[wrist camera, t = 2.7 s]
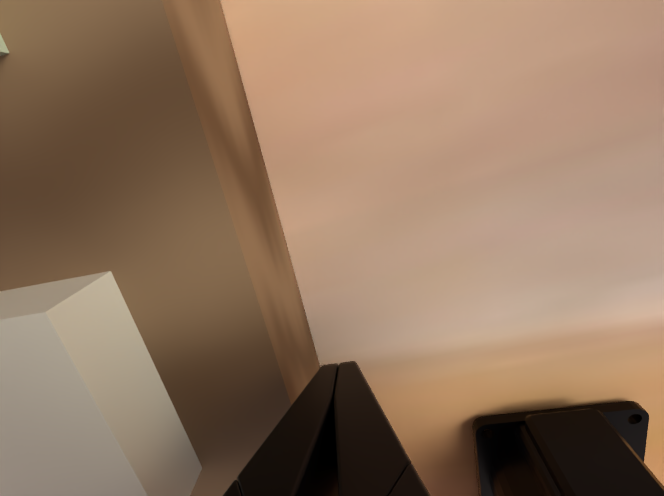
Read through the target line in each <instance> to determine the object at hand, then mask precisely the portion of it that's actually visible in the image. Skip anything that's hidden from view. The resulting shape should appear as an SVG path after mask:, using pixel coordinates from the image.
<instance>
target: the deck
mask: <svg viewBox="0 0 664 496" xmlns="http://www.w3.org/2000/svg"><path fill="white" fill-rule="evenodd" d="M0 34H1V36H2V38H3V40H4V42H5V45H6V47H7V49H8V51H9V54H5V55H2V56H0V291H5V290H11V289H16V288H22V287H27V286H32V285H38V284H43V283H49V282H54V281H59V280H65V279H70V278H75V277H81V276H86V275H92V274H97V273H102V272H108V271H111V273H112V275H113V277H114V279H115V281H116V283H117V285H118V288H119V290H120V292H121V294H122V296H123V298H124V300H125V303H126V305H127V307H128V309H129V311H130V313H131V316H132V318H133V320H134V322H135V324H136V326H137V328H138V331H139V333H140V335H141V337H142V339H143V341H144V343H145V346H146V348H147V350H148V352H149V354H150V356H151V359H152V361H153V363H154V365H155V367H156V369H157V371H158V374H159V376H160V378H161V380H162V382H163V384H164V386H165V389H166V391H167V393H168V395H169V397H170V399H171V402H172V404H173V406H174V408H175V410H176V412H177V414H178V417H179V419H180V421H181V423H182V425H183V427H184V430H185V432H186V434H187V436H188V438H189V440H190V442H191V445H192V447H193V449H194V451H195V453H196V455H197V457H198V460H199V462H200V464H201V466H202V470H201V472H200V474H199V476H198V479H197V481H196V483H195V486H194V488H193V490H192V492H191V495H190V496H222V495H223V494H224V493H225V492H226V490H227V489H228V488H229V486H230V485H231V484H232V482H233V481H234V480H237V476H238V475H239V473H240V472H241V471H242V469H243V468H244V467H245V466H246V464H247V463H248V462H249V460H250V459H251V458H252V456H253V455H254V454H255V452H256V451H257V450H258V449H259V447H260V446H261V445H262V443H263V442H264V441H265V439H266V438H267V437H268V435H269V434H270V433H271V431H272V430H273V429H274V428H275V426H276V425H277V424H278V422H279V421H280V420H281V418H282V417H283V416H284V414H285V413H286V412H287V410H288V409H289V408H290V407H291V405H292V404H293V403H294V401H295V400H296V399H297V397H298V396H299V395H300V393H301V392H302V391H303V390H304V388H305V387H306V386H307V384H308V383H309V382H310V380H311V379H312V378H313V376H314V375H315V374H316V372H317V371H318V370H319V369H320V365H319V362H318V358H317V354H316V351H315V347H314V343H313V340H312V336H311V332H310V329H309V325H308V321H307V318H306V314H305V310H304V307H303V303H302V299H301V296H300V292H299V288H298V285H297V281H296V277H295V274H294V270H293V266H292V263H291V259H290V255H289V252H288V248H287V244H286V241H285V237H284V233H283V230H282V226H281V222H280V219H279V215H278V211H277V208H276V204H275V200H274V197H273V193H272V189H271V186H270V182H269V178H268V175H267V171H266V167H265V164H264V160H263V156H262V153H261V149H260V145H259V142H258V138H257V134H256V131H255V127H254V123H253V120H252V116H251V112H250V109H249V105H248V102H247V98H246V94H245V91H244V87H243V83H242V80H241V76H240V72H239V69H238V65H237V61H236V58H235V54H234V50H233V47H232V43H231V39H230V36H229V32H228V28H227V25H226V21H225V17H224V14H223V10H222V6H221V3H220V0H0Z"/></svg>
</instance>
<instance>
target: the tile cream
mask: <svg viewBox="0 0 664 496" xmlns="http://www.w3.org/2000/svg"><path fill="white" fill-rule="evenodd" d="M201 470H202V466H201V464H200V462H199V460H198V457H197V455H196V453H195V451H194V449H193V447H192V445H191V442H190V440H189V438H188V436H187V434H186V432H185V430H184V427H183V425H182V423H181V421H180V419H179V417H178V414H177V412H176V410H175V408H174V406H173V404H172V402H171V399H170V397H169V395H168V393H167V391H166V389H165V386H164V384H163V382H162V380H161V378H160V376H159V374H158V371H157V369H156V367H155V365H154V363H153V361H152V359H151V356H150V354H149V352H148V350H147V348H146V346H145V343H144V341H143V339H142V337H141V335H140V333H139V331H138V328H137V326H136V324H135V322H134V320H133V318H132V316H131V313H130V311H129V309H128V307H127V305H126V303H125V300H124V298H123V296H122V294H121V292H120V290H119V288H118V285H117V283H116V281H115V279H114V277H113V275H112V273H111V271H108V272H102V273H97V274H92V275H86V276H81V277H75V278H70V279H65V280H59V281H54V282H49V283H43V284H38V285H32V286H27V287H22V288H16V289H11V290H5V291H0V496H190V495H191V492H192V490H193V488H194V486H195V483H196V481H197V479H198V476H199V474H200V472H201Z"/></svg>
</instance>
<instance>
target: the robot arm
mask: <svg viewBox="0 0 664 496" xmlns="http://www.w3.org/2000/svg"><path fill="white" fill-rule="evenodd" d="M648 422H649V415H648V413H647V412H646V411H645V410H644V409H643V408H642V407H641V406H640V405H639V404H638V403H636V402H634V401H626V402H616V403H607V404H597V405H588V406H579V407H569V408H560V409H550V410H541V411H532V412H522V413H513V414H503V415H494V416H485V417H480V418H478V419H476V420H475V421H474V423H473V426H472V428H473V438H474V448H475V457H476V467H477V477H478V487H479V496H664V486H663V485H662V484H661V483H660V481H659V480H658V479H657V478H656V477H655V475H654V474H653V473H652V472H651V471H650V469H649V468H648V467H647V466H646V465H645V463H644V456H645V447H646V439H647V430H648ZM486 429H488V430H486ZM222 496H430V494H429V492H428V490H427V489H426V487H425V485H424V484H423V482H422V480H421V479H420V477H419V475H418V473H417V471H416V470H415V468H414V466H413V465H412V464H411V461H410V459H409V457H408V456H407V454H406V452H405V450H404V448H403V446H402V445H401V443H400V441H399V439H398V437H397V436H396V434H395V432H394V430H393V428H392V426H391V425H390V423H389V421H388V419H387V417H386V416H385V414H384V412H383V410H382V408H381V406H380V405H379V403H378V401H377V399H376V397H375V396H374V394H373V392H372V390H371V388H370V387H369V385H368V383H367V381H366V379H365V377H364V376H363V374H362V372H361V370H360V368H359V367H358V365H357V363H356V362H355V361H350V362H343V363H340V364H339V365H338V364H336V363H335V364H328V365H323V366H321V367H320V369H319V370H318V371H317V372H316V374H315V375H314V376H313V378H312V379H311V380H310V382H309V383H308V384H307V386H306V387H305V388H304V390H303V391H302V392H301V393H300V395H299V396H298V397H297V399H296V400H295V401H294V403H293V404H292V405H291V407H290V408H289V409H288V410H287V412H286V413H285V414H284V416H283V417H282V418H281V420H280V421H279V422H278V424H277V425H276V426H275V428H274V429H273V430H272V431H271V433H270V434H269V435H268V437H267V438H266V439H265V441H264V442H263V443H262V445H261V446H260V447H259V449H258V450H257V451H256V452H255V454H254V455H253V456H252V458H251V459H250V460H249V462H248V463H247V464H246V466H245V467H244V468H243V469H242V471H241V472H240V473H239V475H238V476H237V480H234V481H233V482H232V484H231V485H230V486H229V488H228V489H227V490H226V492H225V493H224V494H223V495H222Z"/></svg>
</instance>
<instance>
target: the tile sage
mask: <svg viewBox="0 0 664 496" xmlns="http://www.w3.org/2000/svg"><path fill="white" fill-rule="evenodd" d="M5 54H9V51H8V49H7V47H6V45H5V42H4V40H3V38H2V36H1V34H0V56H2V55H5Z"/></svg>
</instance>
